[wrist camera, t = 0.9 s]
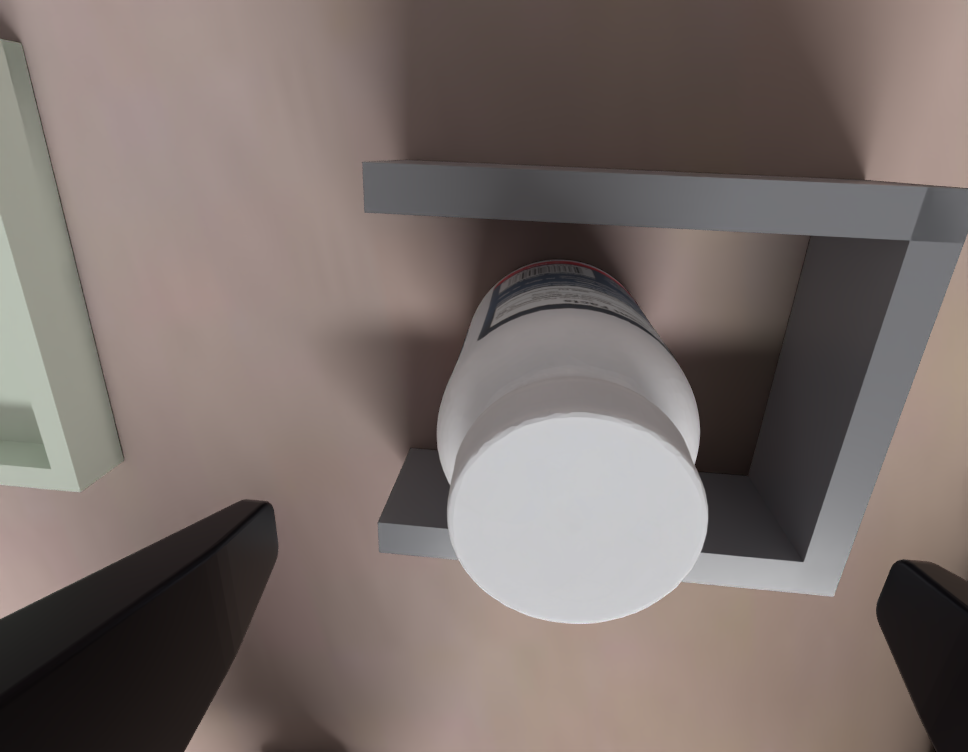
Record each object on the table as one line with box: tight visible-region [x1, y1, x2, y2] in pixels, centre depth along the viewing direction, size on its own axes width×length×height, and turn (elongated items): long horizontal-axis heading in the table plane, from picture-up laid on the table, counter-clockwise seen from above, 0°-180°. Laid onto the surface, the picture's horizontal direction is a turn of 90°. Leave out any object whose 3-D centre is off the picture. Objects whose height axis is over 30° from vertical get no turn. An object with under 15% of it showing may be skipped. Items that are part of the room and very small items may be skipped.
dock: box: [362, 160, 968, 597], centre depth 14 cm, size 10×12×4 cm
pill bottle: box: [437, 260, 708, 624], centre depth 12 cm, size 5×5×9 cm
